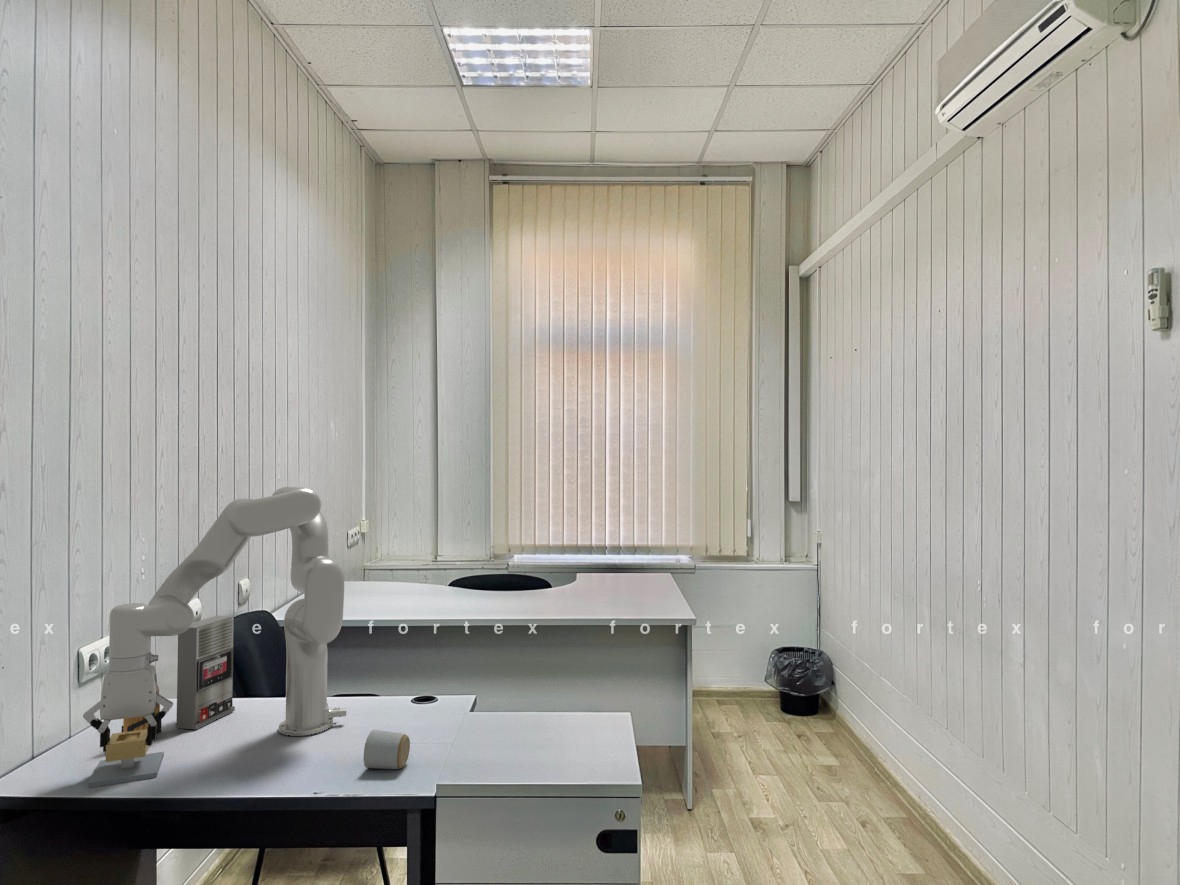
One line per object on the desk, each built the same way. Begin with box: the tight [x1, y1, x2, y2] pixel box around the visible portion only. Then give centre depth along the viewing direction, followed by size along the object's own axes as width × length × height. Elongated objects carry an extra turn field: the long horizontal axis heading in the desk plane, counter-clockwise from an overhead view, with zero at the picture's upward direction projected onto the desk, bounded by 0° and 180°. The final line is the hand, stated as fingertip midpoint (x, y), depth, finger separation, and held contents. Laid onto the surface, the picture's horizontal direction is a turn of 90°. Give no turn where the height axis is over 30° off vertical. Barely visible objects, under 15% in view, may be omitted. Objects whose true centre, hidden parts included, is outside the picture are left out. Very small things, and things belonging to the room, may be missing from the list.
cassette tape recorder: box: [175, 615, 236, 731], centre depth 186 cm, size 14×6×25 cm, turn 168°
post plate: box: [87, 751, 165, 788], centre depth 154 cm, size 12×12×6 cm
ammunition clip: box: [120, 684, 163, 736], centre depth 172 cm, size 11×2×12 cm, turn 171°
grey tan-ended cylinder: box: [363, 729, 411, 770], centre depth 158 cm, size 11×8×8 cm
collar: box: [105, 729, 150, 762], centre depth 155 cm, size 7×7×4 cm
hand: (128, 745), depth 155 cm, fingers open, 7 cm apart
